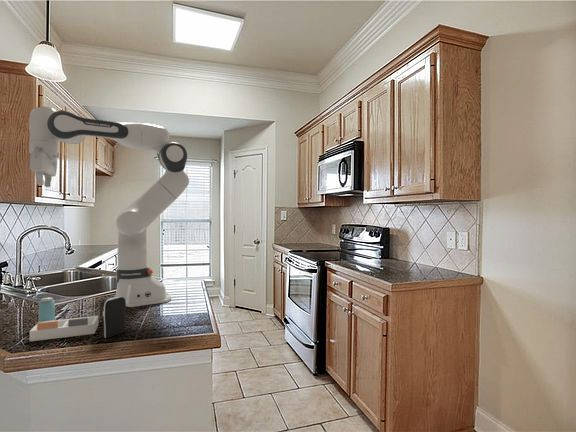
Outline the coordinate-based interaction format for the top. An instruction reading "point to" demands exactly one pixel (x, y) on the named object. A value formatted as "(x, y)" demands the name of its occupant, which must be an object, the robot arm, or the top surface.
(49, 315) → the light blue cylinder
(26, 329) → the top surface
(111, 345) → the top surface
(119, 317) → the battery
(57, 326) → the dock
